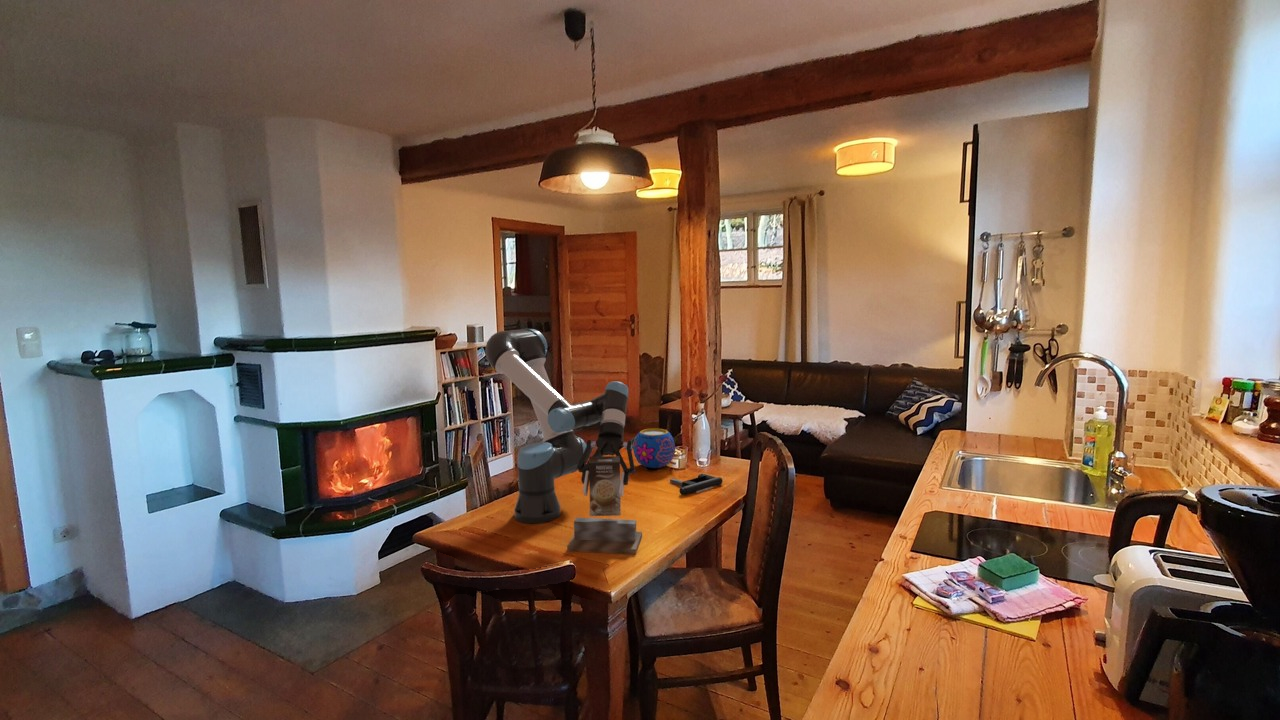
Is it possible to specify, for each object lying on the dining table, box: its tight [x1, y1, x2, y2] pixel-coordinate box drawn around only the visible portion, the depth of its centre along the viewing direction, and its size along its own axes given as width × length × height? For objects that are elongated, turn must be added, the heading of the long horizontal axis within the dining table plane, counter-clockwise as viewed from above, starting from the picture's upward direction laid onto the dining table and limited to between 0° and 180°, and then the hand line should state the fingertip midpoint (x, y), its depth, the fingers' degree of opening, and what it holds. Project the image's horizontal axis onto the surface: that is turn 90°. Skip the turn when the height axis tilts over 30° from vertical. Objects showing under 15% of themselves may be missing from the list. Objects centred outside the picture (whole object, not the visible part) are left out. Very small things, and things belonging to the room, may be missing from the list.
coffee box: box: [588, 455, 622, 517], centre depth 174 cm, size 9×6×16 cm
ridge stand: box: [566, 517, 643, 555], centre depth 176 cm, size 20×12×7 cm, turn 81°
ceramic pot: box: [630, 427, 676, 469], centre depth 248 cm, size 18×18×15 cm
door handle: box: [669, 473, 723, 496], centre depth 225 cm, size 3×20×16 cm
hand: (602, 494), depth 171 cm, fingers closed on coffee box, 10 cm apart
